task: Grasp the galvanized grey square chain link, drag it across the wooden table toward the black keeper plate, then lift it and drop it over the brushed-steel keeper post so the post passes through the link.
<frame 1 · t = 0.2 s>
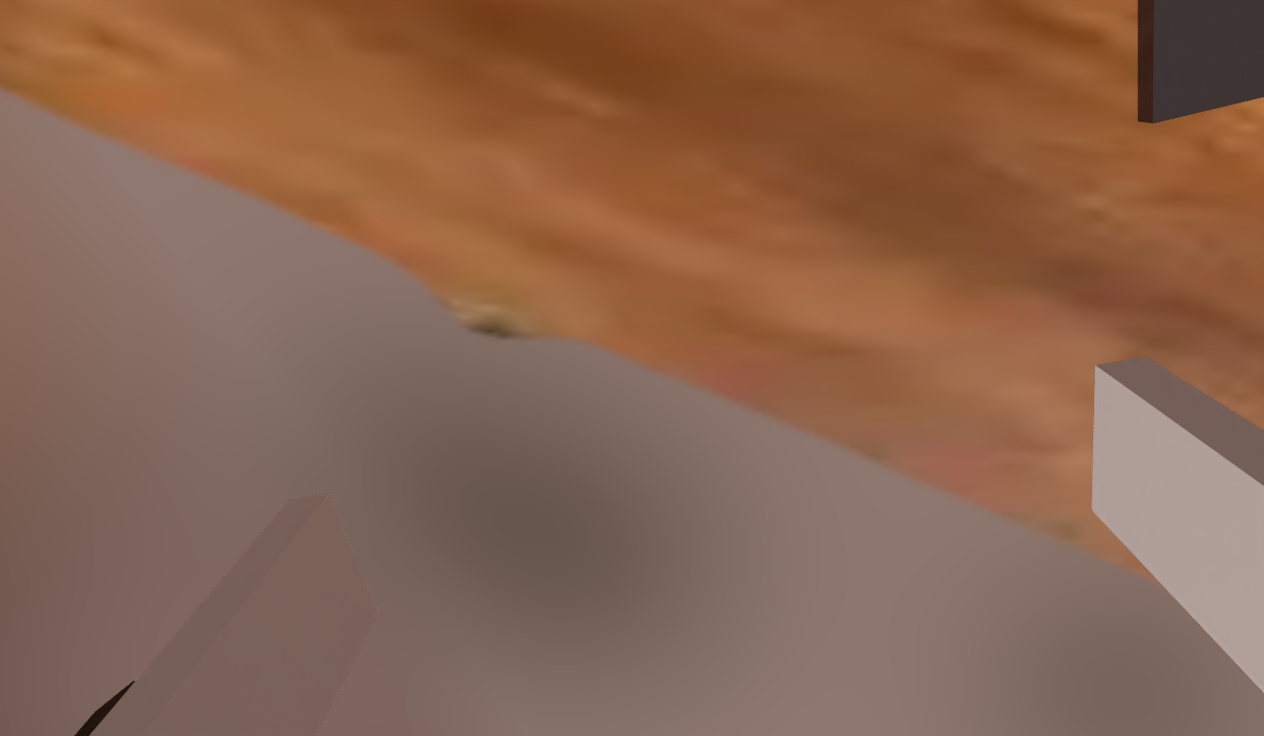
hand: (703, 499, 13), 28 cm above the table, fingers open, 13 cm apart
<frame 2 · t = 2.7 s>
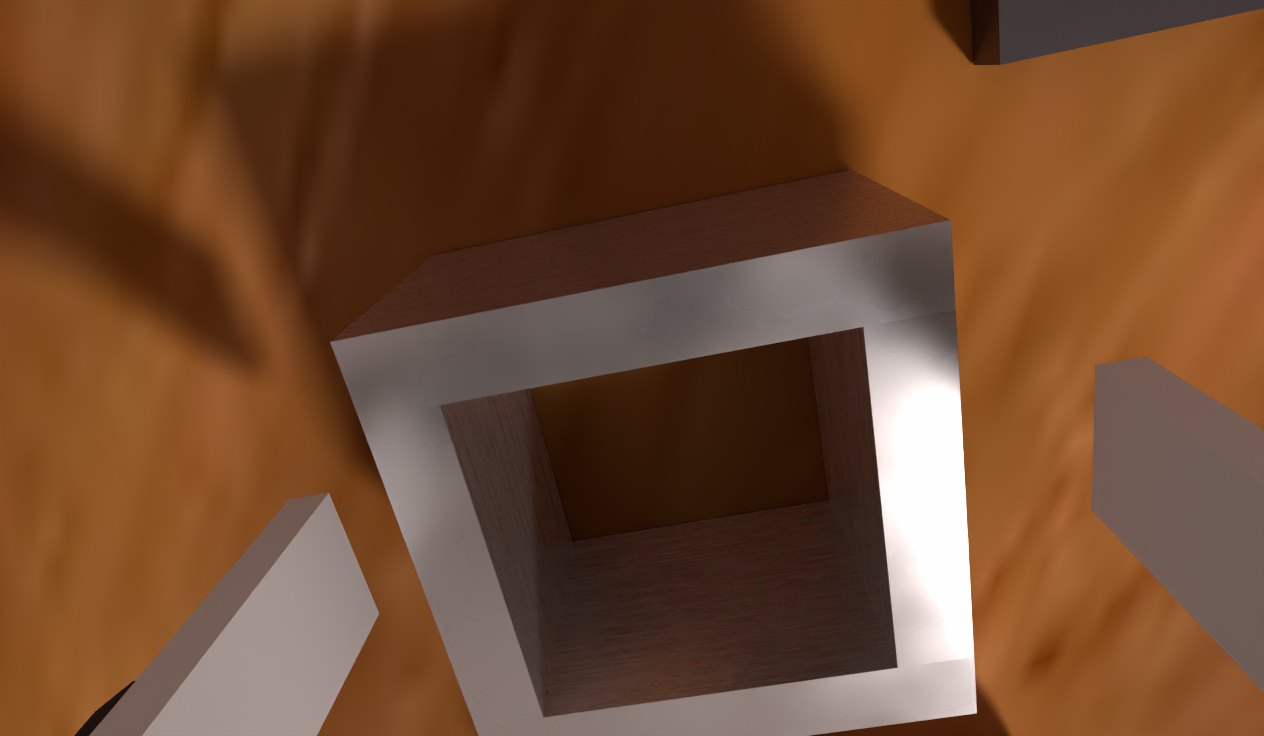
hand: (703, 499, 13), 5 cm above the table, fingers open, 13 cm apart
link: (674, 405, 17), on the table
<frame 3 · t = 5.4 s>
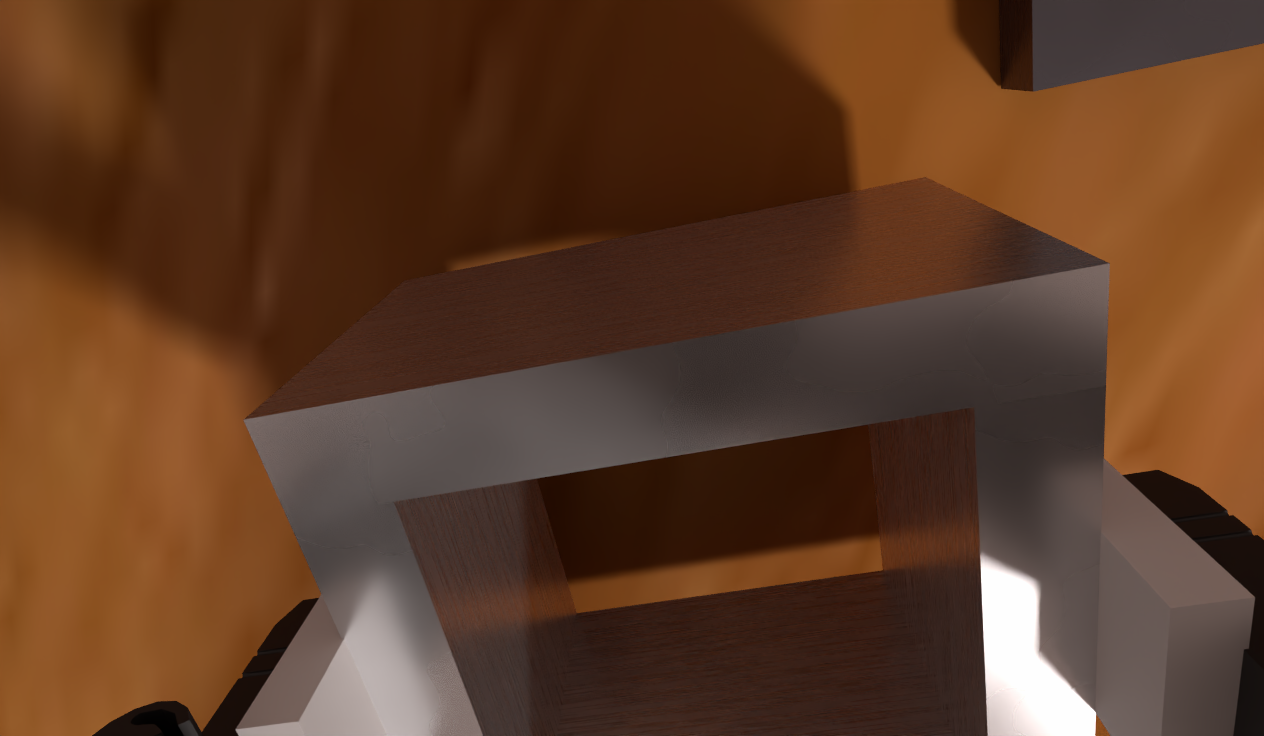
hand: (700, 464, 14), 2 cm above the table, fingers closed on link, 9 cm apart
link: (699, 459, 14), point 1 cm above the table, touching gripper
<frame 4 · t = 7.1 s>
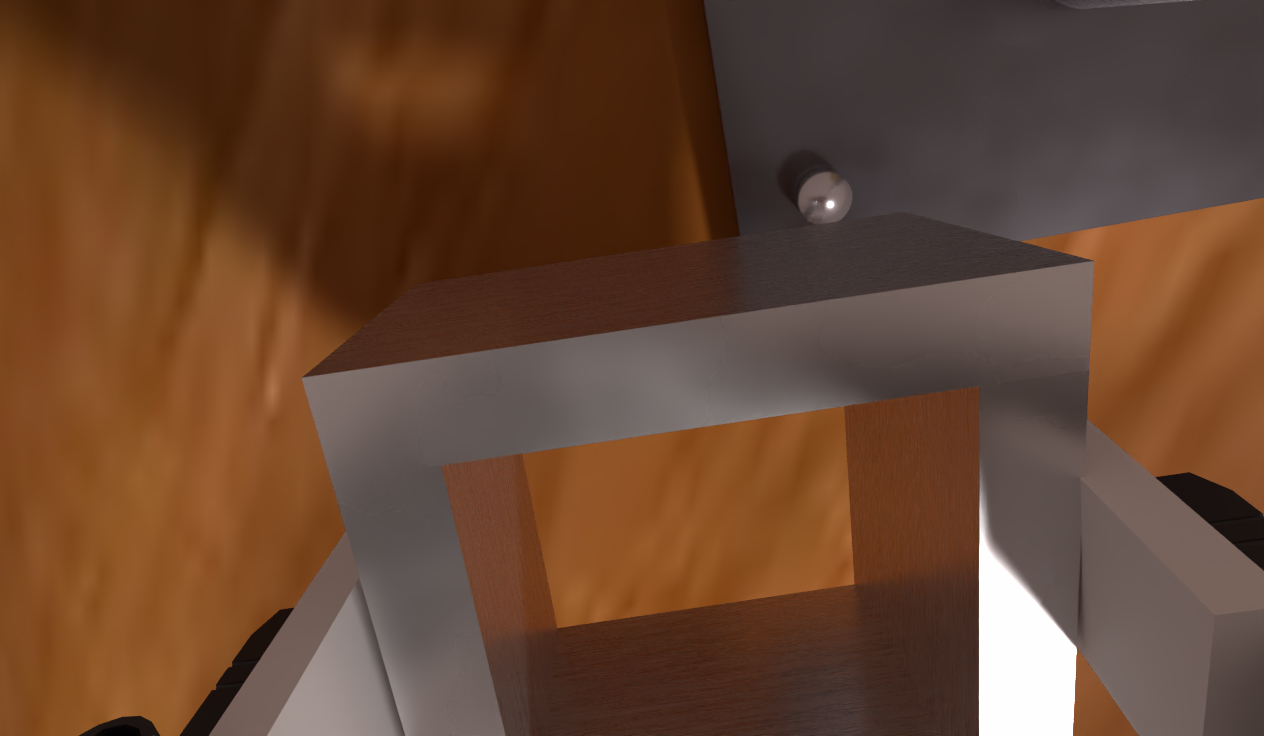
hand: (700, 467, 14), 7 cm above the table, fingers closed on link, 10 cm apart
link: (688, 470, 15), point 6 cm above the table, tilted 9°, touching gripper
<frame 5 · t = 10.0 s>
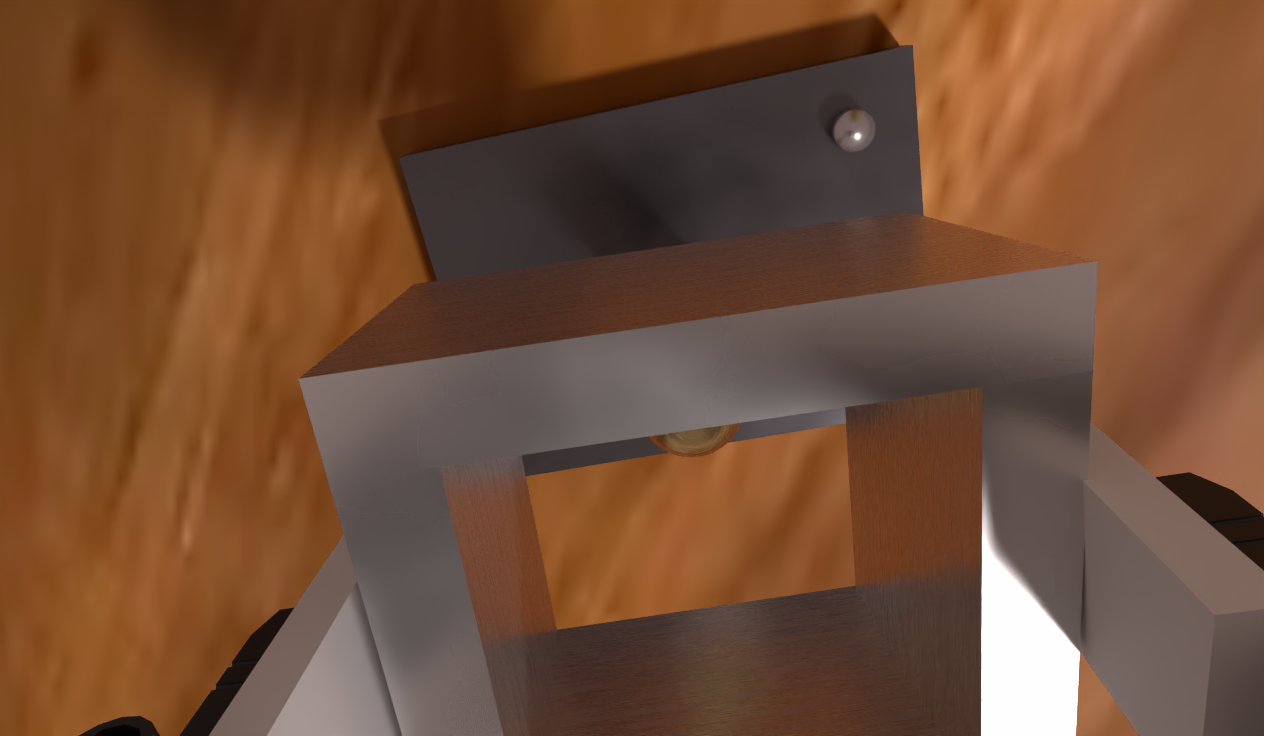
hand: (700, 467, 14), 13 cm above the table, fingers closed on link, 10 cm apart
link: (688, 471, 15), point 12 cm above the table, tilted 7°, touching gripper
keeper: (680, 279, 26), on the table
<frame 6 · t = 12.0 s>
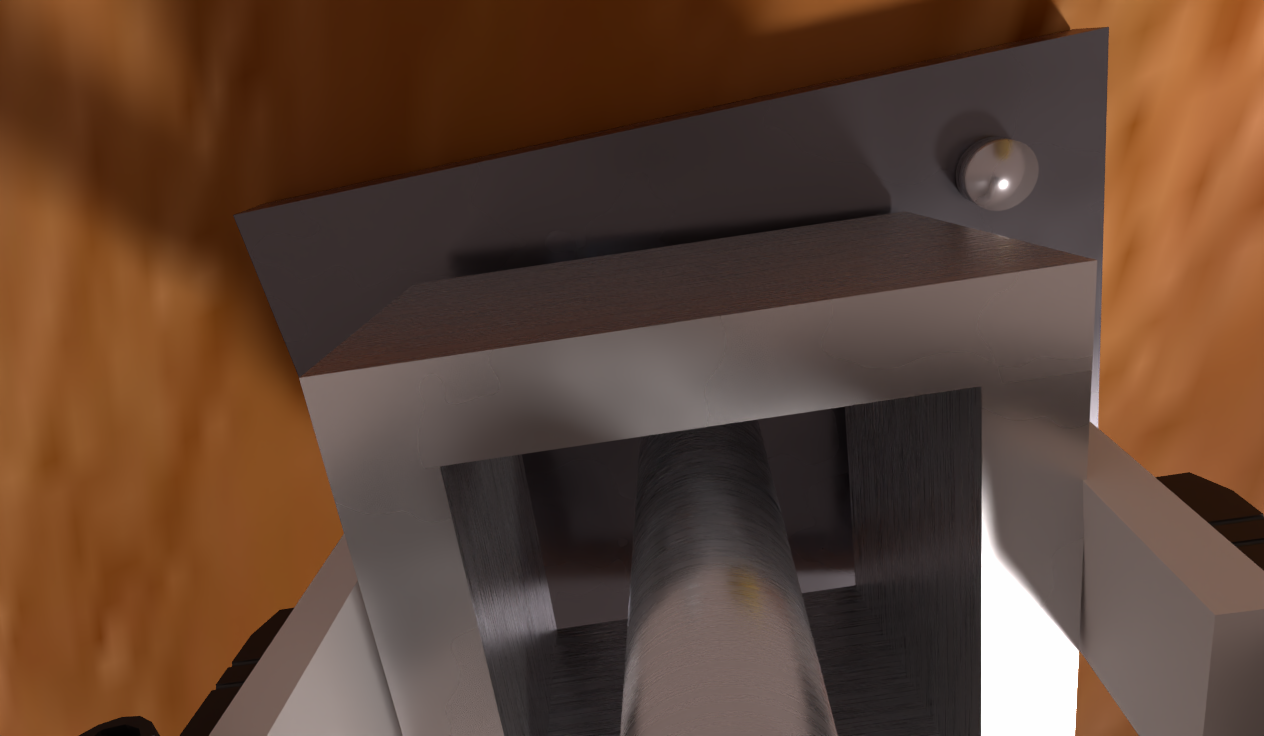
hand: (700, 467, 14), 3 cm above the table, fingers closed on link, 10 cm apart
link: (688, 471, 15), point 2 cm above the table, tilted 7°, touching gripper
keeper: (696, 397, 17), on the table
when the fingers open (3 cm above the table, at t = 12.7 s): link drops 1 cm, resting on keeper.
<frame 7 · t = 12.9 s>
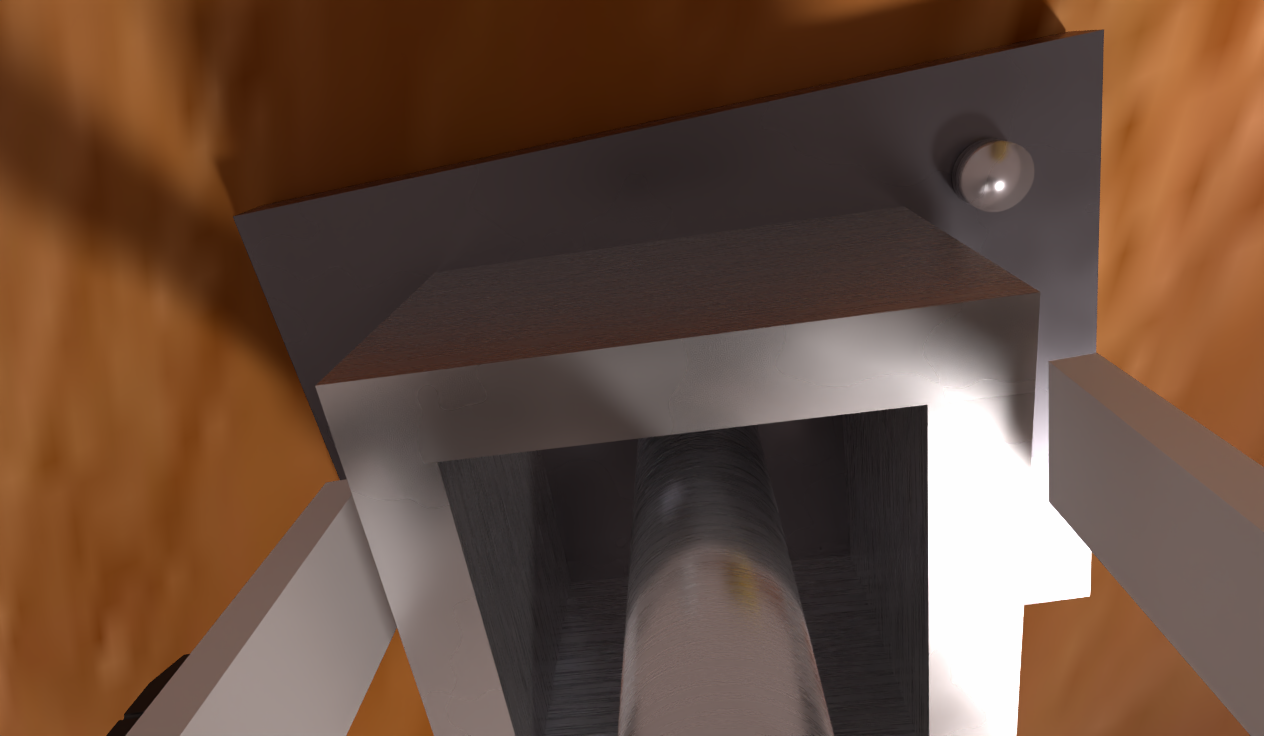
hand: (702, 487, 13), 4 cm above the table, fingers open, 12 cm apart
link: (691, 446, 16), point 1 cm above the table, touching keeper
keeper: (694, 397, 17), on the table
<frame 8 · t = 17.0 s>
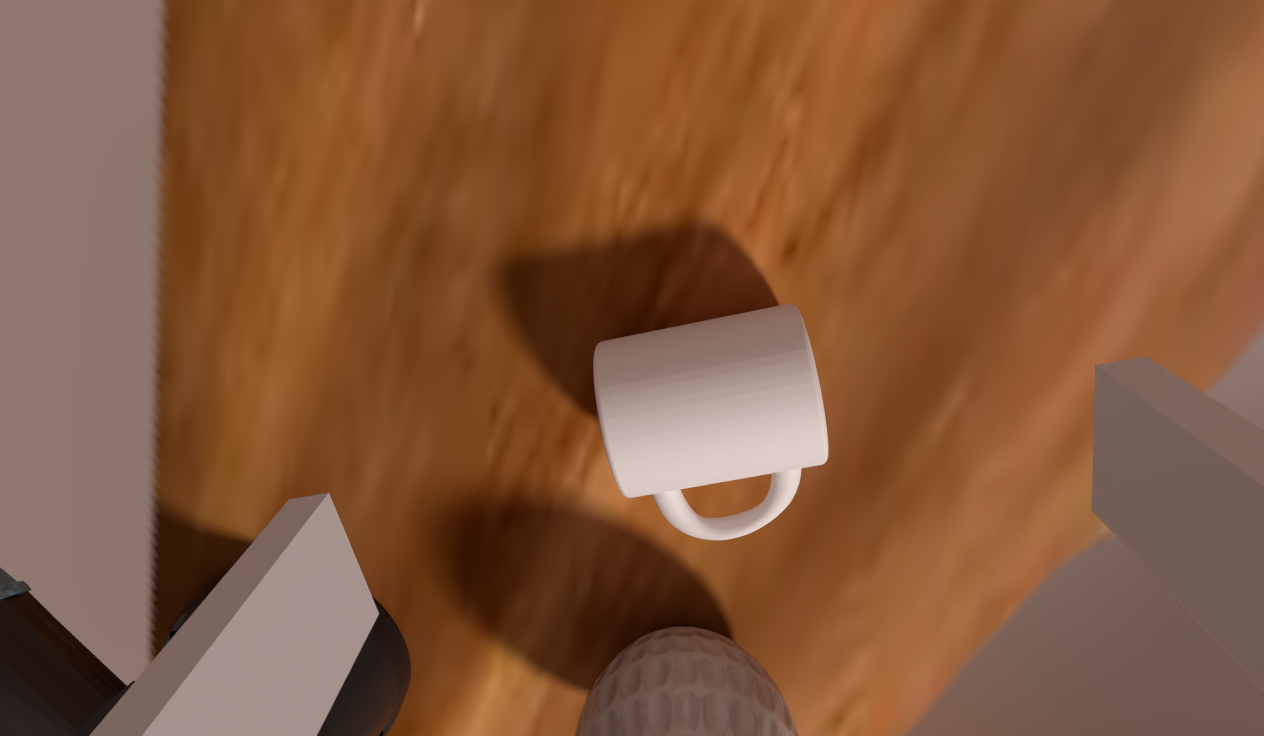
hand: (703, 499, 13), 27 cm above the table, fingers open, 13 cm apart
vase: (683, 661, 49), on the table
mug: (712, 401, 42), on the table
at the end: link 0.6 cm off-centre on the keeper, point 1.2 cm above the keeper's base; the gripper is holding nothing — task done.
